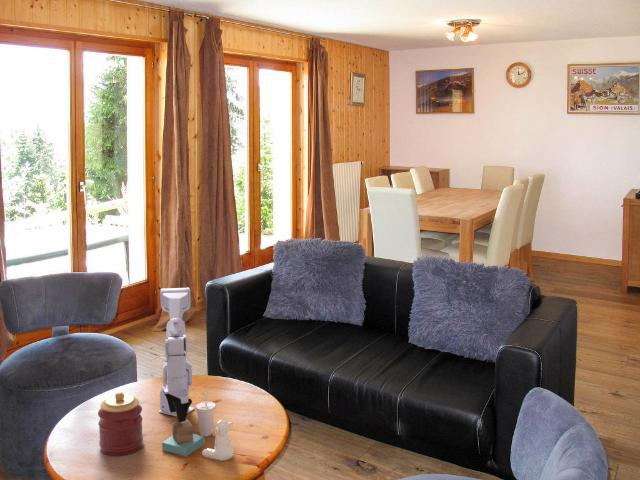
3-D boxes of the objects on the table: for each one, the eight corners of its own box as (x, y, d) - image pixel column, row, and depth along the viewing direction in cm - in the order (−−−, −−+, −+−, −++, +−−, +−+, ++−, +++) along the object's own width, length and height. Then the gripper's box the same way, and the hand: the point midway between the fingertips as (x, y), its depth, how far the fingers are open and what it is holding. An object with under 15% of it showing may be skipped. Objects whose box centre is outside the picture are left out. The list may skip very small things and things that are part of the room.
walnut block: (173, 437, 207) (172, 422, 206) (188, 434, 209) (187, 419, 209) (177, 444, 203) (177, 429, 202) (193, 440, 205) (192, 425, 204)
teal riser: (162, 449, 205) (162, 442, 204) (180, 437, 213) (180, 430, 212) (186, 456, 201) (186, 448, 200) (204, 443, 209) (203, 436, 208)
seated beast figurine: (227, 445, 208) (226, 409, 206) (243, 456, 202) (243, 419, 199) (201, 455, 202) (200, 418, 199) (217, 466, 195) (216, 428, 193)
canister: (93, 444, 208) (90, 390, 204) (133, 432, 215) (131, 381, 212) (108, 461, 198) (105, 405, 194) (150, 448, 205) (148, 394, 202)
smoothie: (199, 439, 211) (198, 398, 209) (193, 431, 217) (192, 390, 214) (218, 435, 214) (218, 394, 212) (212, 427, 220) (211, 387, 217)
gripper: (156, 369, 208) (158, 410, 211) (171, 385, 196) (172, 428, 198) (178, 365, 212) (179, 405, 214) (194, 381, 199) (195, 423, 202)
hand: (177, 416), depth 207 cm, fingers open, 7 cm apart
